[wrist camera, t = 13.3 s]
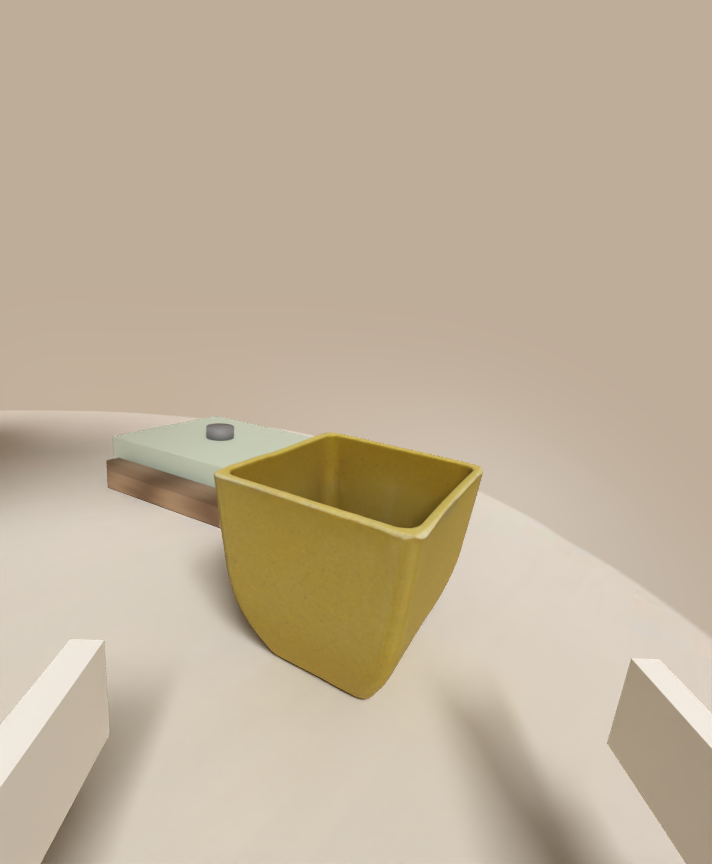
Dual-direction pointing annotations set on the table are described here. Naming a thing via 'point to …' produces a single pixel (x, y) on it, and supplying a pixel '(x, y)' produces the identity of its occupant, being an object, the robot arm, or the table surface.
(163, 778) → the table surface
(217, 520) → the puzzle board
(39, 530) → the table surface
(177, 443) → the cover
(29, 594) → the table surface
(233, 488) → the flower pot
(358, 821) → the table surface
